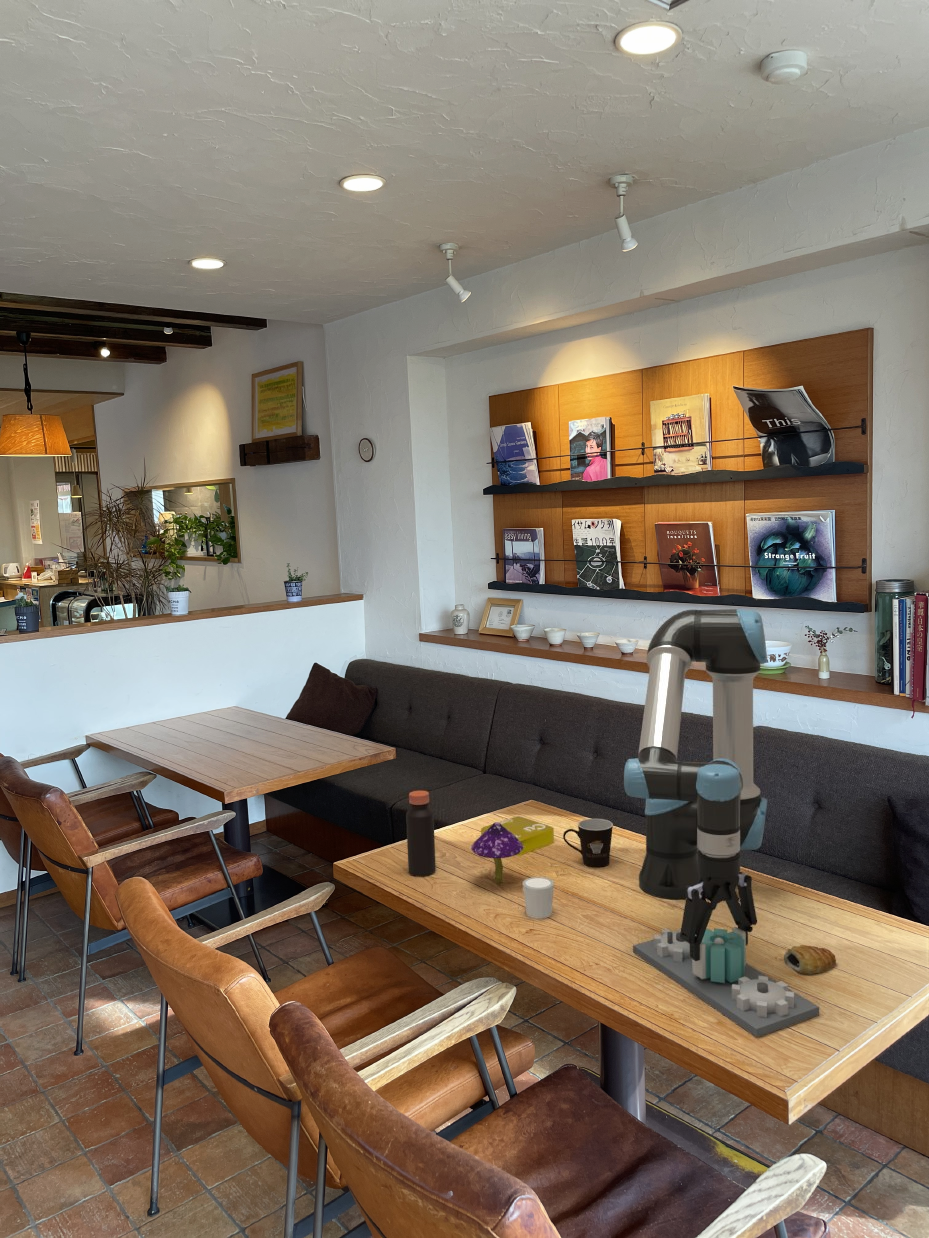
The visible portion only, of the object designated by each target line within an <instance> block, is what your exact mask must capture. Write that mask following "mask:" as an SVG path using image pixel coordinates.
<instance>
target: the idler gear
mask: <svg viewBox="0 0 929 1238" xmlns="http://www.w3.org/2000/svg"><path fill="white" fill-rule="evenodd" d="M695 936H696V935H695ZM716 938H722V939H723V941H724V944H718V943H714V940H715V939H716ZM702 942H703V943H705V962H706V978H705V979H707V978H710V977H711V981H713V982H721V983H725V979H726V980H728V981H729V982H734V981H737V980H738V979H739V978H741V976H742V977H744V971H745V939H742V936H740V935H738V934H737V933H735V932H732V931H730V932H728V929H724V928H715V927H714V928H713V930H711V929H710V928H706V931H705V934H704V937H703V940H702Z"/></svg>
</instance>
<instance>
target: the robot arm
mask: <svg viewBox="0 0 929 1238" xmlns="http://www.w3.org/2000/svg"><path fill="white" fill-rule="evenodd" d="M765 636H766V635H765V630H764V624H763V618H762V615H761V614H760V612H759V611H756V610H751V609H740V608H733V609H732V608H731V609H727V608H726V609H724V608H723V609H687V610H683V611H681V612H677V613H676V614H674V615H672V616H670V617H669V618H667V620H665V621H664V622H663V623H662V624H661V625H660V626H659V628H658V629H657V630H656V631H655V633H654V635H653V636H652V638H651V640H650V642H649V643H648V647H647V650H646V651H647V652H646V654H647V655H646V664H647V666H648V668H649V671H648V672H649V674H648V679H647V680H648V681H647V688H646V695H645V701H644V710H643V716H642V717H643V718H642V726H641V733H640V739H639V748H638V757H637V758H636V757H635V758H629V759H627V760H626V762H625V765H624V770H623V787H624V791H625V793H626V795H627V796H629V797H631V798H637V799H639V798H640V799H645V809H644V814H645V846H646V847H645V855H644V859H643V861H642V865H641V870H639V871H640V872H639V873H638V885H639V886H638V887H639V888H640V889H641V890H642V891H643V892H645V893H647V894H648V895H651V896H654V897H659V898H662V899H673V900H677V899H678V900H680V899H684V900H685V902H684V908H683V916H682V921H681V927H680V928H681V932H680V938H681V939H683V940H684V941H686V942H688V943H689V944H690V958H691V959H692V969H693V973H694V974H695V975H697V976H698V977H700V978H701V979H705V978H706V962H705V943H703V942H702V940H703V937H704V934H705V931H706V929H708V928H707V927H708V924H709V923H710V919H711V916H712V914H713V911H714V910H716V909H717V906H718V904H720V903H722V902H725V903H726V906H727V907H728V908H727V909H728V910H729V912H730V915H731V917H732V919H733V921H734V924H735V926H732V928H731V929H732V931H731V932H735V933H737V934H738V935H740V936H742V939H745V966H746V964H747V954H746V953H747V948H746V947H747V946H748V944H749V933H752V932H753V929H754V927H753V926H756V925H757V923H758V918H757V912H756V907H755V902H754V897H753V891H752V882H753V877H752V876H751V875H750V874H747V873H745V872H743V871H741V854H740V853H739V852H740V851H742V850H744V851H745V850H746V851H747V850H748V851H754V850H758V849H759V848H760V847H761V846H762V843H763V837H764V836H763V835H764V830H765V824H766V823H765V822H766V815H767V814H766V813H767V809H768V808H767V807H768V799H767V798H765V797H762V796H761V789H760V788H759V786H757V785H756V784H755V782H754V678H755V677H756V676H757V675H759V673H760V672H761V665H764V664H766V663H768V654H767V653H768V651H767V645H766V637H765ZM692 662H693V663H694V662H696V663H705V672H706V673H707V674H709V676H710V677H711V679H712V735H713V736H712V740H713V741H712V742H713V743H712V748H713V749H712V750H713V751H712V752H713V756H712V758H713V760H712V761H710V762H696V761H679V760H678V751H679V741H680V731H681V729H680V728H681V720H682V719H681V718H682V708H683V700H684V689H685V681H686V680H685V679H686V672H688V670H690V668H691V666H692ZM736 889H737V891H736ZM737 892H738V893H737ZM695 935H696V936H695Z"/></svg>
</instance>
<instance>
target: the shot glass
mask: <svg viewBox="0 0 929 1238" xmlns="http://www.w3.org/2000/svg"><path fill="white" fill-rule="evenodd" d="M554 886H555V883H554V881H553V880H552V879H551V878H547V877H541V876H532V877H529V878H526V879H524V880H523V881H522V888H523V889H522V890H523V897H524V905H525V913H526V914H525V915H526V916H527V917H529V918H530V919H536V920H539V919H542V920H543V919H547V918H549V917H551V916H552V914H553V913H552V912H553V899H554Z"/></svg>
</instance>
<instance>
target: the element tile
mask: <svg viewBox="0 0 929 1238" xmlns="http://www.w3.org/2000/svg"><path fill="white" fill-rule="evenodd" d="M497 822H498V823H500V824H501V825H502V826H503V827H505V828H506V829H507V830H509V831H510V832H511V833H512V834H513V835H515V836H516V837H517V839H518V840H519V841H520V842H521V843H522V844H523V845H524V848H523V850H522V851H521V852H520V853H519V854H517V855H516V856H522V855H525V854H528V853H530V852H533V851H536V850H539V849H541V848H545V847H548V846H550V845H553V844H554V843H555V835H554V827H553V826H551V825H548V824H545V823H542V822H538V821H535V820H532V819H530V818H527V817H523V816H514V817H511V818H507V819H505V820H501V821H497ZM492 824H493V823H492ZM492 824H489V825H486V826H483V827H481V829H480V836H481V835H482V834H483V833H484V832H485V831H486V830H487V829H488V828H489V827H490V826H491V825H492Z"/></svg>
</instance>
